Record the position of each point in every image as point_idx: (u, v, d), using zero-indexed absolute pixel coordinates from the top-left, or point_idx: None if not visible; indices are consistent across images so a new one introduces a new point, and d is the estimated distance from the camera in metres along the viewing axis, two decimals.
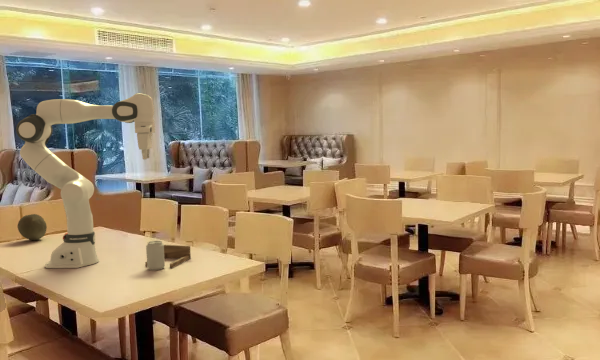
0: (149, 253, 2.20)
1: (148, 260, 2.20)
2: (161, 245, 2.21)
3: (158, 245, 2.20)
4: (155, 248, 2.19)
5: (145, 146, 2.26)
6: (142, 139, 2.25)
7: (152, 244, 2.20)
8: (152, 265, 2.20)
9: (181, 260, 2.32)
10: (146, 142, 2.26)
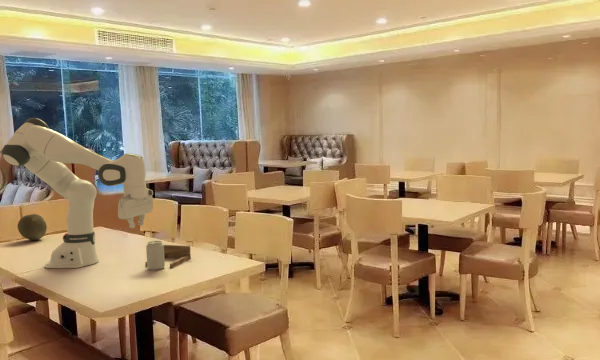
0: (149, 253, 2.20)
1: (148, 260, 2.20)
2: (161, 245, 2.21)
3: (158, 245, 2.20)
4: (155, 248, 2.19)
5: None
6: None
7: (152, 244, 2.20)
8: (152, 265, 2.20)
9: (181, 260, 2.32)
10: None
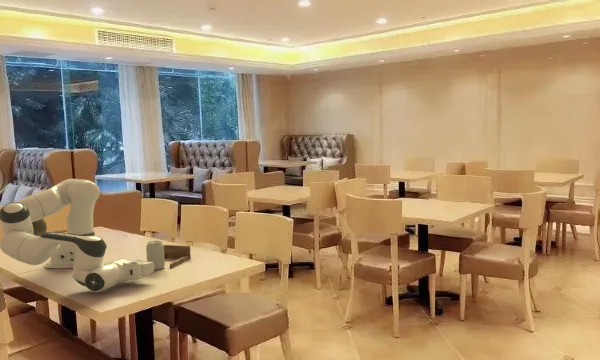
0: (149, 253, 2.20)
1: (148, 260, 2.20)
2: (161, 245, 2.21)
3: (158, 245, 2.20)
4: (155, 248, 2.19)
5: (153, 264, 2.03)
6: (148, 269, 2.00)
7: (152, 244, 2.20)
8: None
9: (181, 260, 2.32)
10: (150, 264, 2.01)
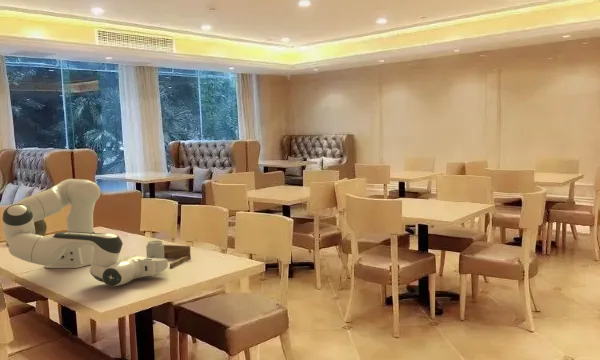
0: (149, 253, 2.20)
1: None
2: (161, 245, 2.21)
3: (158, 245, 2.20)
4: (155, 248, 2.19)
5: (166, 260, 2.11)
6: (162, 265, 2.08)
7: (152, 244, 2.20)
8: None
9: (181, 260, 2.32)
10: (164, 260, 2.09)
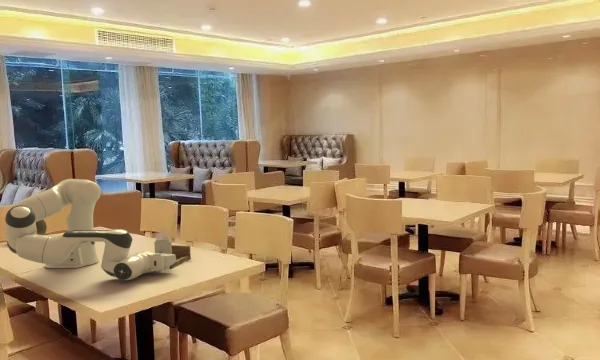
0: (158, 249, 2.27)
1: None
2: (169, 241, 2.29)
3: (166, 241, 2.28)
4: (164, 244, 2.27)
5: (175, 256, 2.18)
6: (170, 260, 2.15)
7: (160, 240, 2.27)
8: None
9: (181, 260, 2.32)
10: (172, 256, 2.16)
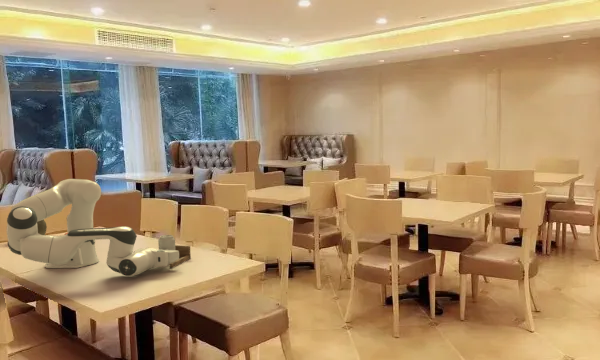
0: (162, 247, 2.31)
1: None
2: (173, 239, 2.34)
3: (170, 239, 2.32)
4: (168, 241, 2.31)
5: (178, 252, 2.22)
6: (174, 256, 2.20)
7: (164, 237, 2.31)
8: None
9: (181, 260, 2.32)
10: (176, 252, 2.21)
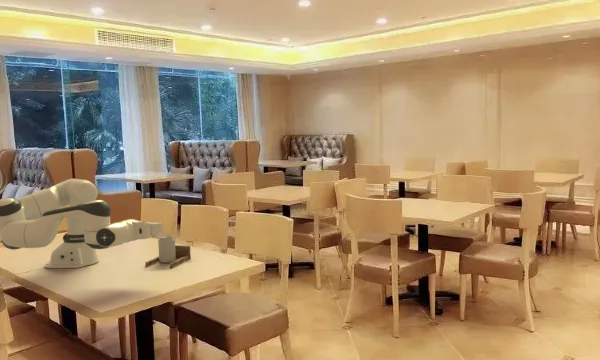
0: (161, 247, 2.31)
1: (161, 254, 2.32)
2: (173, 239, 2.33)
3: (170, 239, 2.32)
4: (167, 242, 2.31)
5: (161, 224, 2.09)
6: (157, 228, 2.06)
7: (164, 238, 2.31)
8: (165, 259, 2.31)
9: (181, 260, 2.32)
10: (158, 224, 2.07)
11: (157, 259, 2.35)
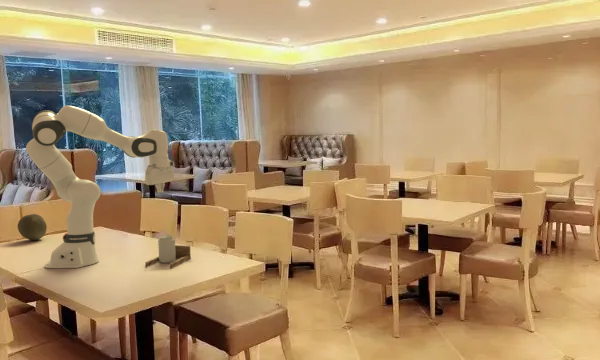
0: (161, 247, 2.31)
1: (161, 254, 2.32)
2: (173, 239, 2.33)
3: (170, 239, 2.32)
4: (168, 242, 2.31)
5: None
6: None
7: (164, 238, 2.31)
8: (165, 259, 2.31)
9: (181, 260, 2.32)
10: None
11: (157, 259, 2.35)
